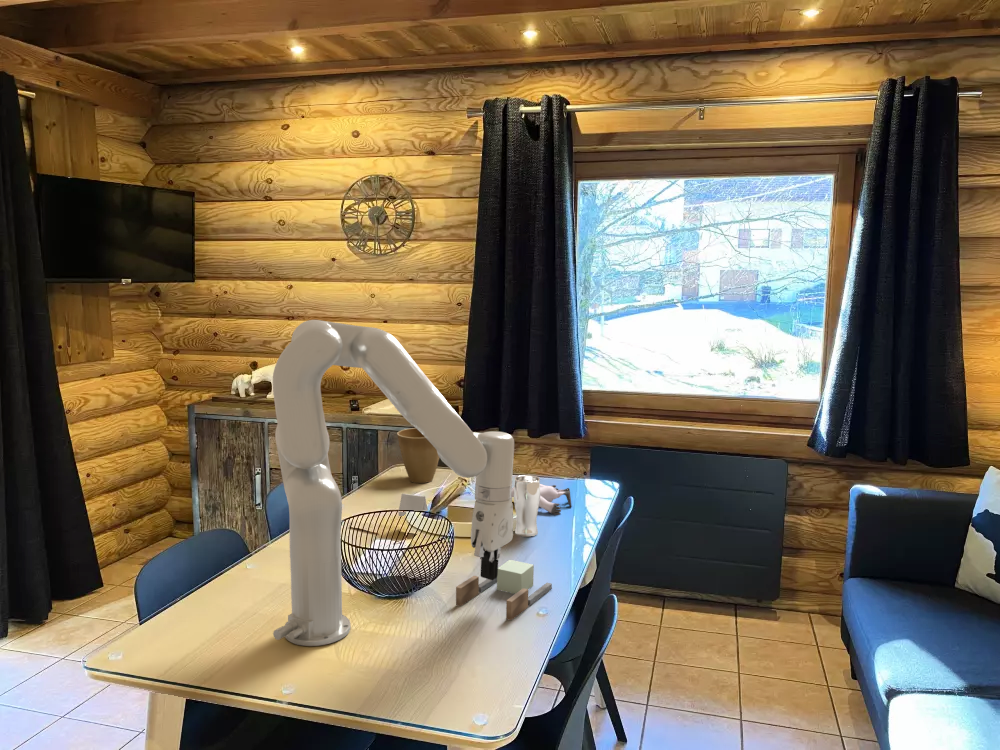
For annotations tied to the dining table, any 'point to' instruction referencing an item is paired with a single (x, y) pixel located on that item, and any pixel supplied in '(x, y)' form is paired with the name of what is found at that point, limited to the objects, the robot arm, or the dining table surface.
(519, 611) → the walnut channel
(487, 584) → the rails
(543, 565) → the dining table surface
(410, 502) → the light grey tapered block
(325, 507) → the robot arm
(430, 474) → the plant pot
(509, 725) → the dining table surface
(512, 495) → the yeti figurine
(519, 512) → the beer glass
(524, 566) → the sage block
